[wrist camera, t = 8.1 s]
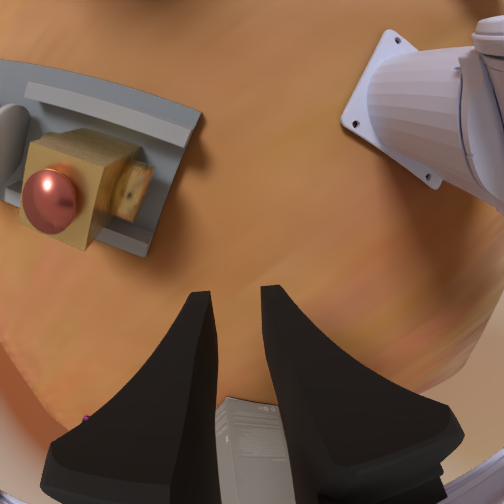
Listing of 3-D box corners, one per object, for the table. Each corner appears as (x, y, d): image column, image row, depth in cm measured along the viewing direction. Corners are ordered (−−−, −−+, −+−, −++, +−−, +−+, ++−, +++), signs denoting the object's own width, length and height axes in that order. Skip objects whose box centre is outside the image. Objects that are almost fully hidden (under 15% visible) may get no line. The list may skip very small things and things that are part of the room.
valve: (163, 154, 16) (129, 184, 10) (142, 214, 17) (106, 271, 11) (67, 121, 14) (-2, 138, 8) (53, 180, 16) (-10, 220, 10)
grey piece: (202, 112, 16) (193, 114, 11) (147, 254, 19) (128, 300, 15) (-3, 59, 11) (-49, 58, 6) (-28, 182, 15) (-68, 205, 10)
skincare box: (225, 393, 27) (237, 542, 13) (286, 404, 29) (313, 535, 15) (198, 427, 31) (201, 546, 17) (251, 436, 33) (265, 546, 19)
